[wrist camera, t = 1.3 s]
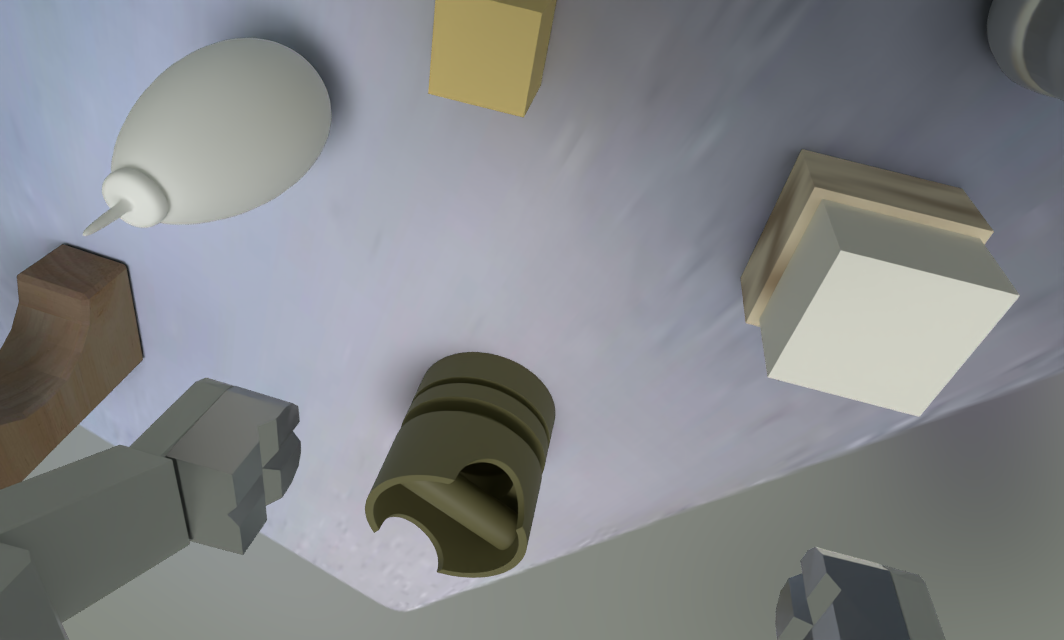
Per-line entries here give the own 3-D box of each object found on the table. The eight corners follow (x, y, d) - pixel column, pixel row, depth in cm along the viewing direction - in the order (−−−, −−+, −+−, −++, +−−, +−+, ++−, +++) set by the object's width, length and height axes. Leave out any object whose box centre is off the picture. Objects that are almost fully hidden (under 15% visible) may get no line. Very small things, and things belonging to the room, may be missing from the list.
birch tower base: (801, 147, 36) (814, 186, 32) (960, 186, 36) (993, 231, 32) (740, 275, 42) (745, 323, 38) (877, 311, 42) (897, 362, 38)
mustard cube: (465, -33, 34) (436, -13, 30) (558, -11, 33) (542, 13, 30) (455, 63, 37) (428, 93, 33) (540, 85, 37) (523, 117, 33)
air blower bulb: (385, 112, 39) (218, 277, 25) (297, 166, 43) (108, 337, 29) (298, -12, 36) (48, 99, 22) (209, 58, 39) (-54, 193, 25)
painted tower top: (822, 198, 33) (840, 250, 29) (979, 238, 32) (1019, 295, 29) (759, 319, 38) (767, 377, 34) (895, 354, 37) (919, 416, 34)
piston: (460, 593, 49) (336, 515, 45) (496, 468, 58) (395, 396, 55) (561, 544, 43) (426, 450, 39) (584, 413, 52) (476, 328, 48)
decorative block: (61, 239, 51) (-214, 426, 35) (131, 263, 51) (-111, 460, 35) (84, 339, 58) (-137, 532, 42) (146, 360, 58) (-52, 560, 42)
